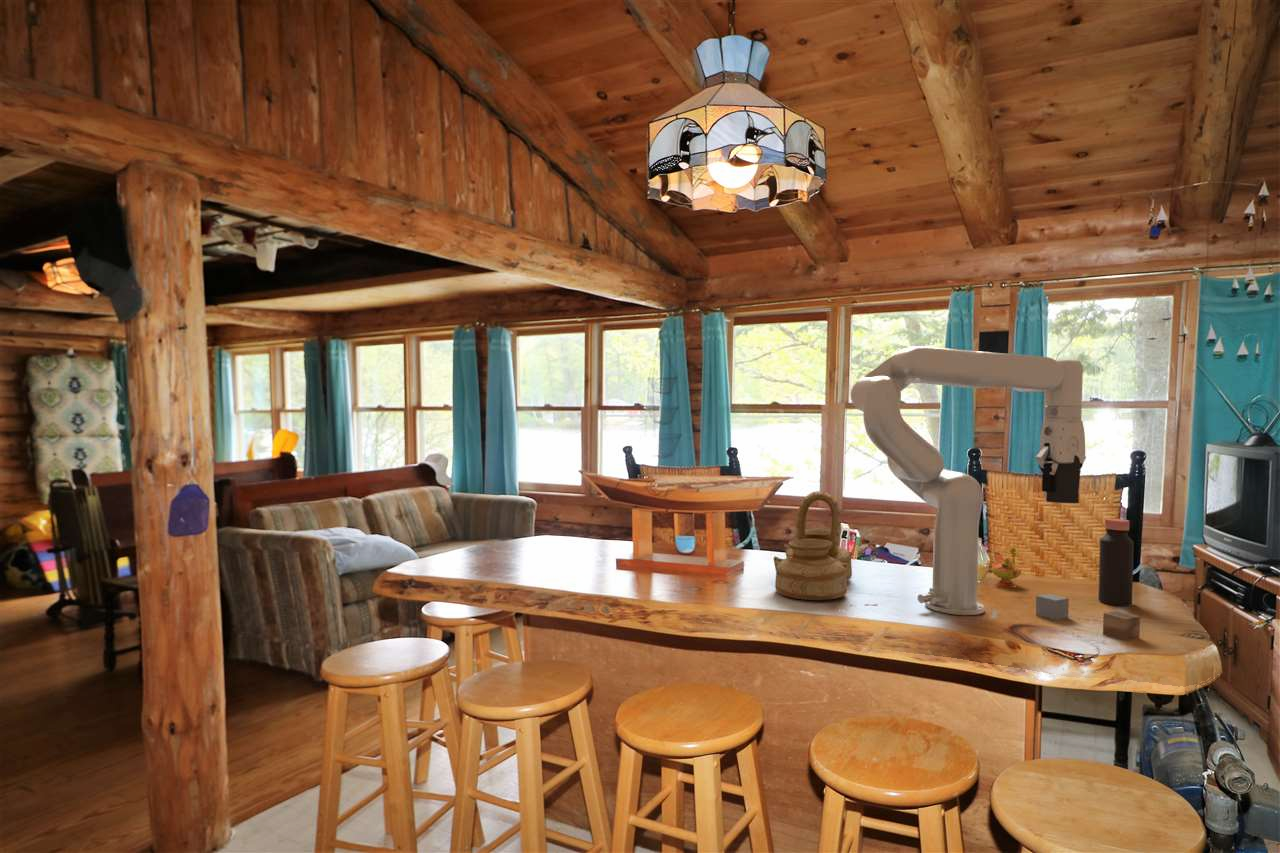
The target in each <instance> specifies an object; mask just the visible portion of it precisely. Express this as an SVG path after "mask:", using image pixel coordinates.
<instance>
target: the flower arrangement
mask: <svg viewBox="0 0 1280 853" xmlns="http://www.w3.org/2000/svg"><path fill="white" fill-rule="evenodd" d="M1016 550H1017V549H1016V548H1015V547H1013V548H1011V549H1010V550H1009V551H1010V553H1011V556H1012V561H1011V559H1009V557H1006V558H1004V557H1003V555H1002V554H1001V552H996V551H995V552H992V553H993V558H994V559H993V560H994V564H993V566H992V567H991V572H992V573H993V575H994V576H995V577H997V578H1000V580H999V581H997V582H995V583H996V584H998V585H1000V586H999V587H1001V586H1008V587H1007V588H1015V587H1014V586H1016V587H1017V584H1016V583H1013V581H1012V580H1014V579H1016V578H1019V577H1020V575H1021V569H1019V568H1018V567H1016V562H1015V558H1016V555H1017V553H1016ZM998 585H997V586H998Z"/></svg>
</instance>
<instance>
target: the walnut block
mask: <svg viewBox="0 0 1280 853" xmlns="http://www.w3.org/2000/svg"><path fill="white" fill-rule="evenodd" d="M1102 619H1103V623H1102V635H1104V636H1107V637H1110V638H1114V639H1117V640H1120V641H1124V642H1127V641H1131V640H1132V639H1133V640H1137V638H1138V639H1140V632H1141V631H1140V630H1141V627H1140V626H1141V616H1139V615H1136V614H1131V613H1127V612H1123V611H1119V610H1115V611H1114V610H1113V611H1108V612H1103V618H1102Z"/></svg>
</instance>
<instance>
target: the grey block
mask: <svg viewBox="0 0 1280 853" xmlns="http://www.w3.org/2000/svg"><path fill="white" fill-rule="evenodd" d="M1035 599H1036V600H1035V605H1036V606H1035V616H1037V615H1039V616H1038V617H1041V616H1042V617H1041V618H1044V617H1045V619H1048V618H1049V619H1048V620H1051V621H1060V620H1066V619H1069V606H1070V605H1069V603H1070V602H1069V601H1070V599H1069V598H1068V597H1066V596H1065V597H1064V596H1061V595H1057V594H1052V593H1045V594H1039V595H1036V597H1035ZM1065 618H1066V619H1065Z"/></svg>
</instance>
